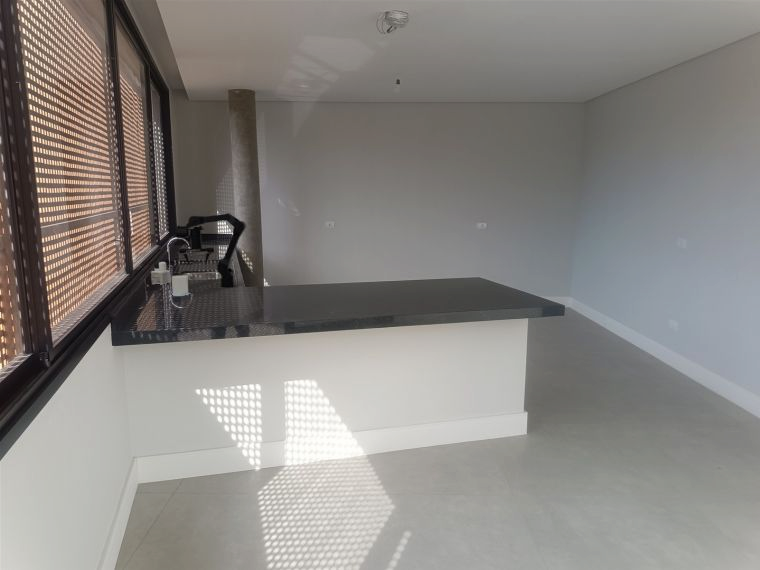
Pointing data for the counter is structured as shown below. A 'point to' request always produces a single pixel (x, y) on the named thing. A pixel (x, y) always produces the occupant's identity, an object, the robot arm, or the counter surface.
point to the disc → (181, 294)
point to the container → (160, 274)
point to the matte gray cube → (180, 284)
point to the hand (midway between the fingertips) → (197, 265)
